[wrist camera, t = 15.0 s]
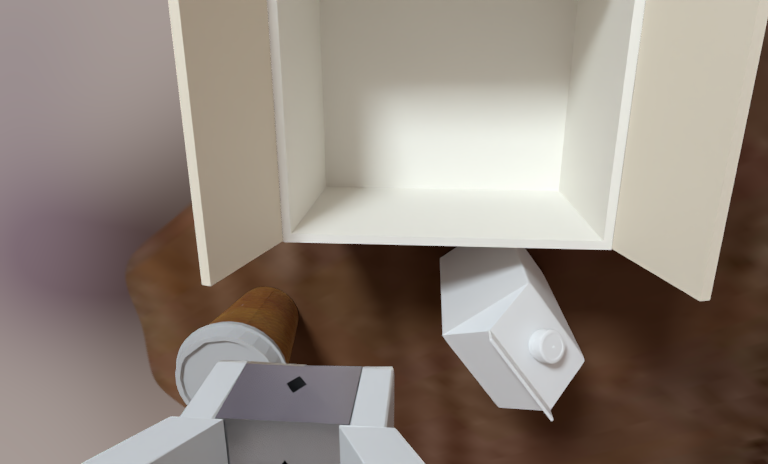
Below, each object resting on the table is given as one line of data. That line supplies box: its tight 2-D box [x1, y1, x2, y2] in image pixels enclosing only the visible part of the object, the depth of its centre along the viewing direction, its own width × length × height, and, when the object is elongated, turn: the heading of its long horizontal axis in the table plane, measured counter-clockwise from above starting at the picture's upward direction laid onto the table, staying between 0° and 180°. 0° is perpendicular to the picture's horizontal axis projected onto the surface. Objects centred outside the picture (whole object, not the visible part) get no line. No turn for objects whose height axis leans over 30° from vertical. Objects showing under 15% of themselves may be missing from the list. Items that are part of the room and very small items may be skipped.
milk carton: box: [440, 246, 584, 421], centre depth 43 cm, size 7×7×19 cm
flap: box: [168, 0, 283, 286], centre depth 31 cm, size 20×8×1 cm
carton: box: [267, 0, 646, 250], centre depth 41 cm, size 20×22×14 cm
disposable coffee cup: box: [175, 287, 299, 405], centre depth 50 cm, size 10×10×12 cm
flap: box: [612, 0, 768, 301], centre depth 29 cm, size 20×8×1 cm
